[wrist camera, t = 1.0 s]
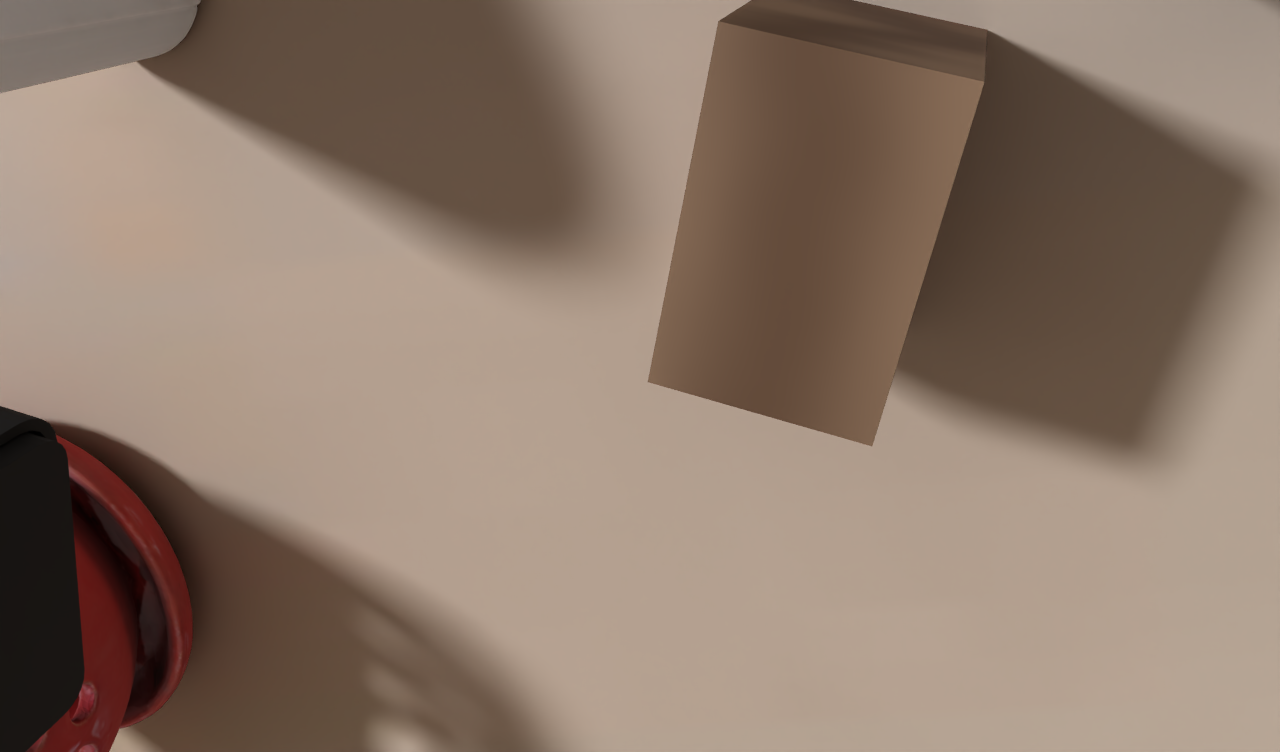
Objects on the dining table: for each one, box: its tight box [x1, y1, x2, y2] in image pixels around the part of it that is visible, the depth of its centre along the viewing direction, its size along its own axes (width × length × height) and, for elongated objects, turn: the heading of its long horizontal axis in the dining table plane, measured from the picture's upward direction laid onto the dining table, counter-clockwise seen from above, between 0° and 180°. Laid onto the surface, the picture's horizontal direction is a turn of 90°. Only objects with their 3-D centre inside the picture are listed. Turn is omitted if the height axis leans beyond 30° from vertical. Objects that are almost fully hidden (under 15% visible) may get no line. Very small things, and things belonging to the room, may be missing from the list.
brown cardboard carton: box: [648, 0, 987, 446], centre depth 23 cm, size 4×7×6 cm, turn 170°
